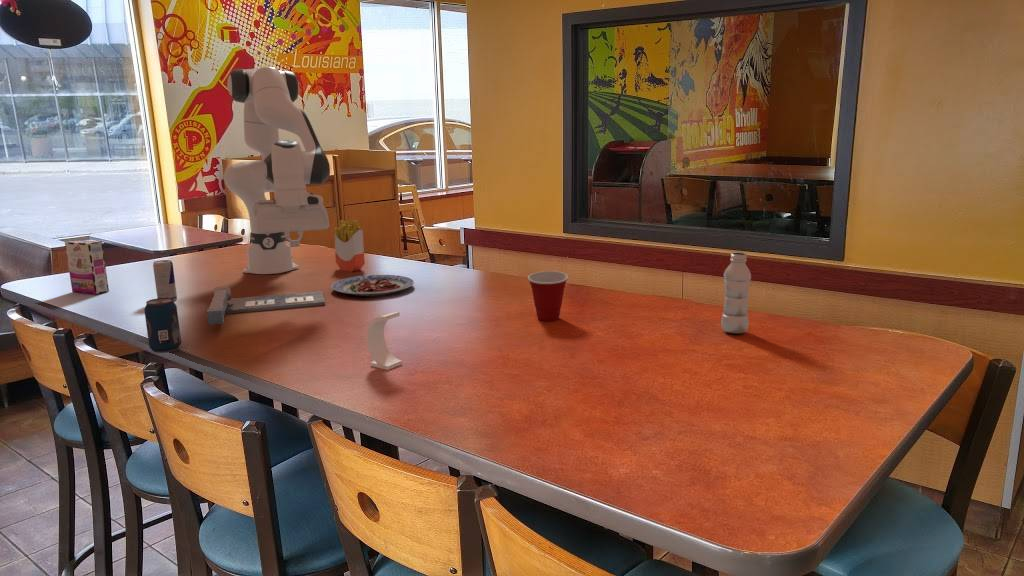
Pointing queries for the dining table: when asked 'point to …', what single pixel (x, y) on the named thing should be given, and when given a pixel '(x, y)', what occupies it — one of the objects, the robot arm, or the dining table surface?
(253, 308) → the double power outlet
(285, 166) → the robot arm
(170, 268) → the energy drink
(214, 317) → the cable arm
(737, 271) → the plastic bottle
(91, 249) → the candy bar box
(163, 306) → the soda can
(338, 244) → the french fries container
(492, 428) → the dining table surface
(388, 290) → the ceramic plate
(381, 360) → the headphone stand
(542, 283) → the plastic cup
